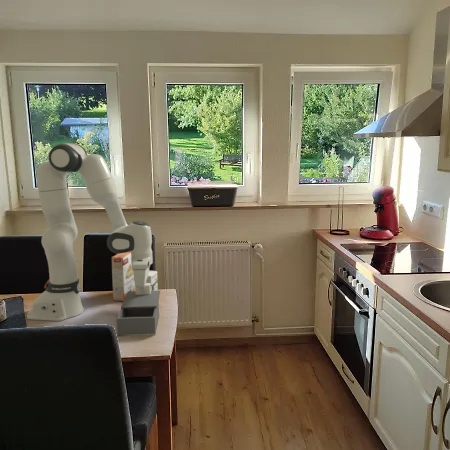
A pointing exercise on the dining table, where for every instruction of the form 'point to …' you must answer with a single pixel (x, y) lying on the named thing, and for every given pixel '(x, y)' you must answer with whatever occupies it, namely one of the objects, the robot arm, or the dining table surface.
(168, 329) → the dining table surface
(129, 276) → the cracker box
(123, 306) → the lid
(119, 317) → the base
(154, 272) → the ink box
